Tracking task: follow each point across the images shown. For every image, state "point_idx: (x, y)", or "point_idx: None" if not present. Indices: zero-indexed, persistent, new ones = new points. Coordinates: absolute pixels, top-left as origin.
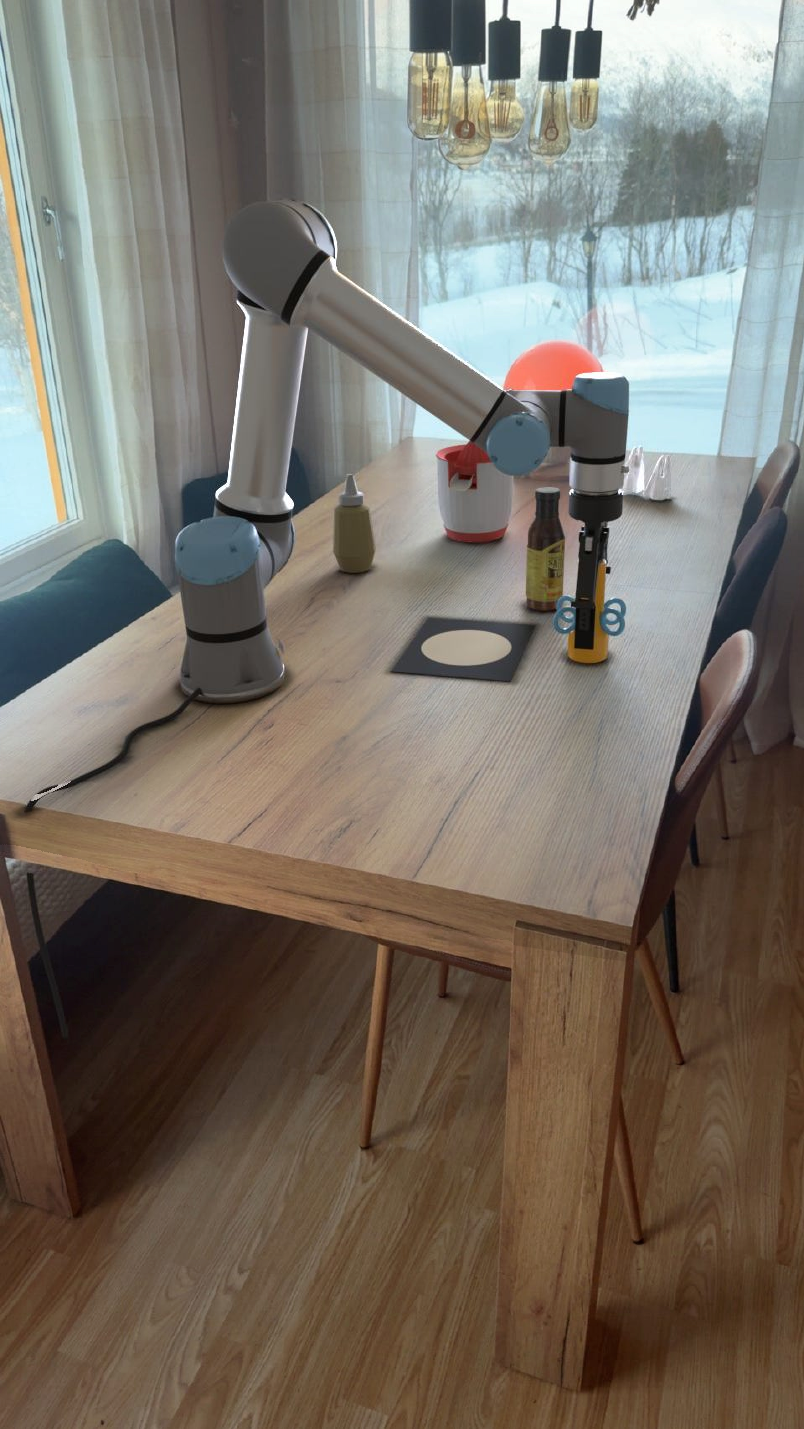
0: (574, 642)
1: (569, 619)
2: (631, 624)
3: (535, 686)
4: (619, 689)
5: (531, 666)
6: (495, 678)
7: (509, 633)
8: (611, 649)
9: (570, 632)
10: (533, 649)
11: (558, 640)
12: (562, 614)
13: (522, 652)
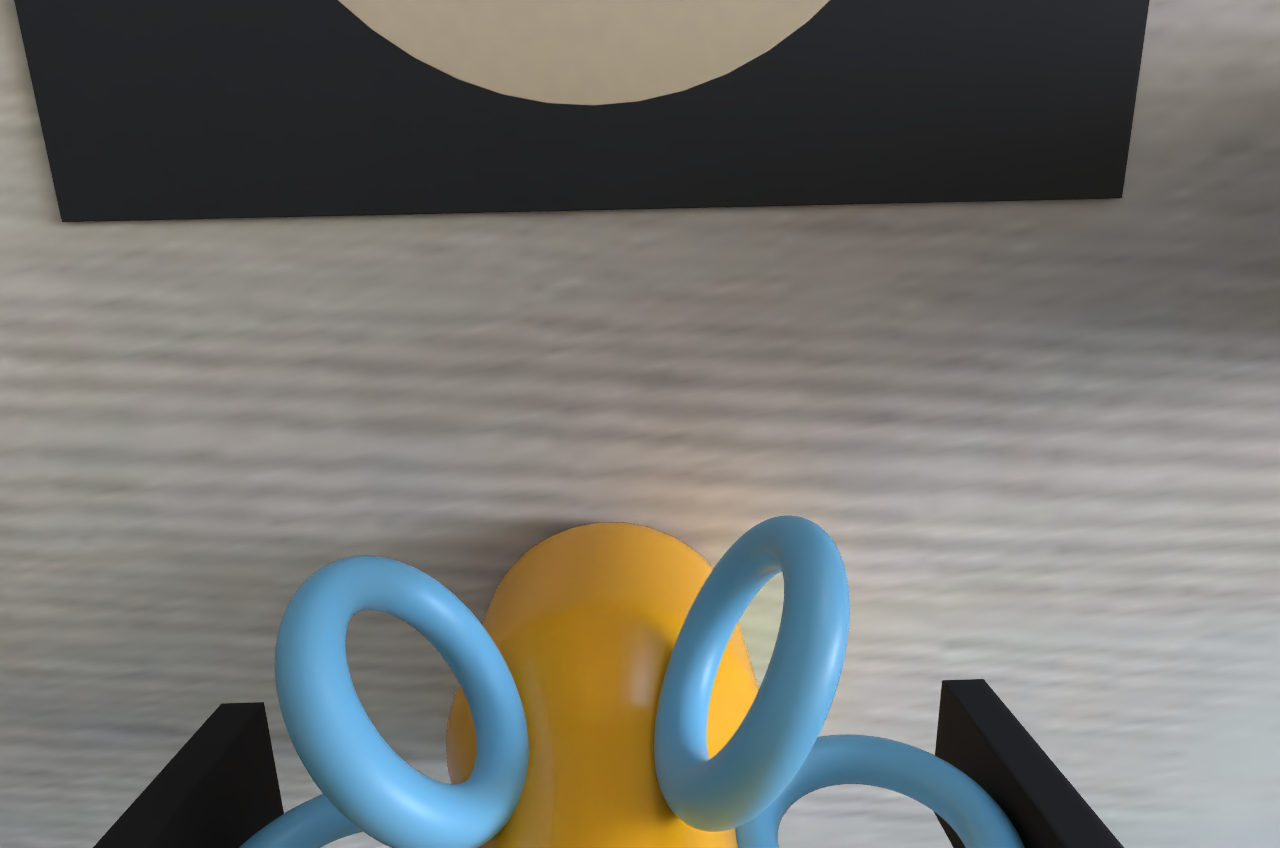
0: (191, 739)
1: (692, 627)
2: (1159, 792)
3: (71, 402)
4: None
5: (370, 316)
6: (58, 102)
7: (929, 19)
8: None
9: (521, 635)
10: (663, 272)
11: (852, 414)
12: (754, 567)
13: (577, 205)
